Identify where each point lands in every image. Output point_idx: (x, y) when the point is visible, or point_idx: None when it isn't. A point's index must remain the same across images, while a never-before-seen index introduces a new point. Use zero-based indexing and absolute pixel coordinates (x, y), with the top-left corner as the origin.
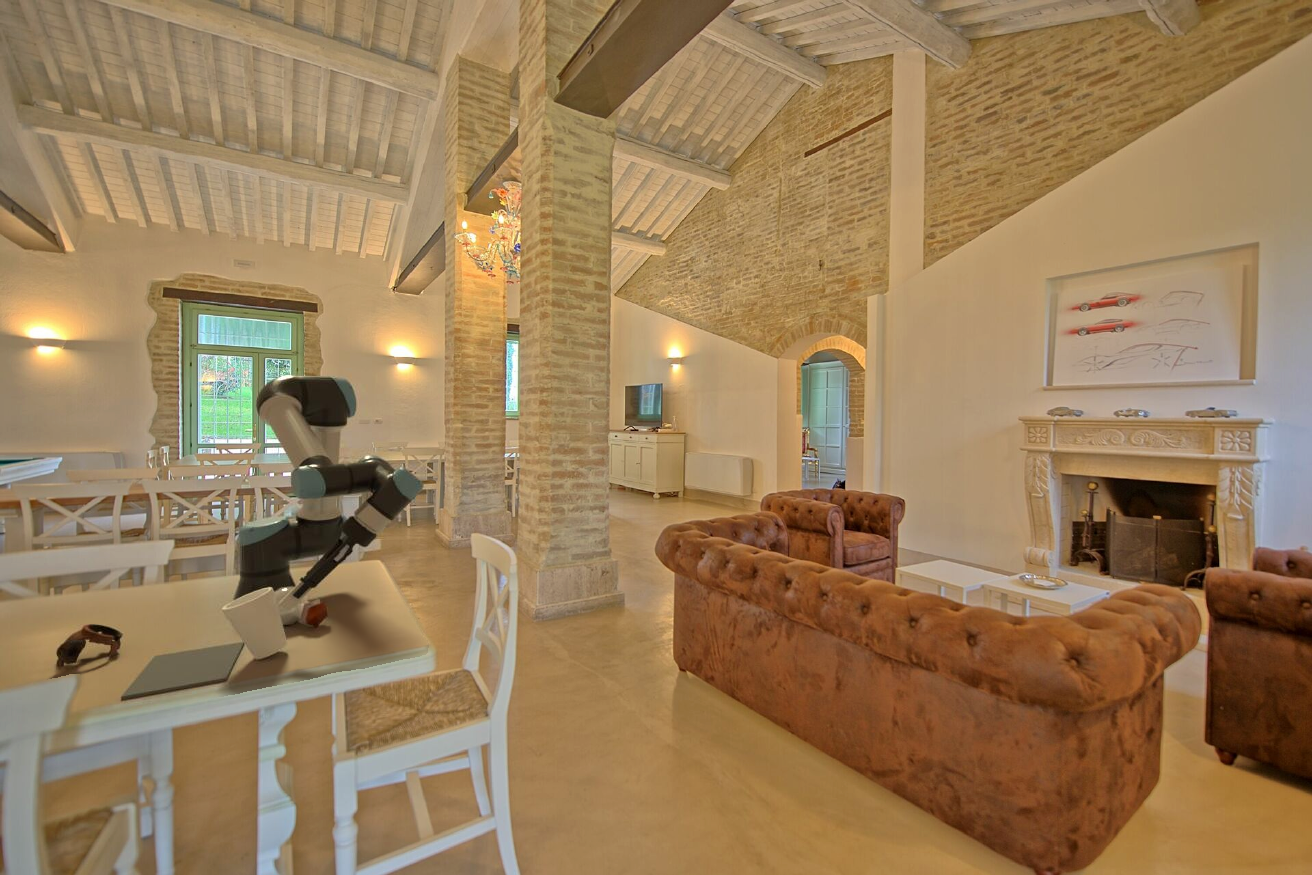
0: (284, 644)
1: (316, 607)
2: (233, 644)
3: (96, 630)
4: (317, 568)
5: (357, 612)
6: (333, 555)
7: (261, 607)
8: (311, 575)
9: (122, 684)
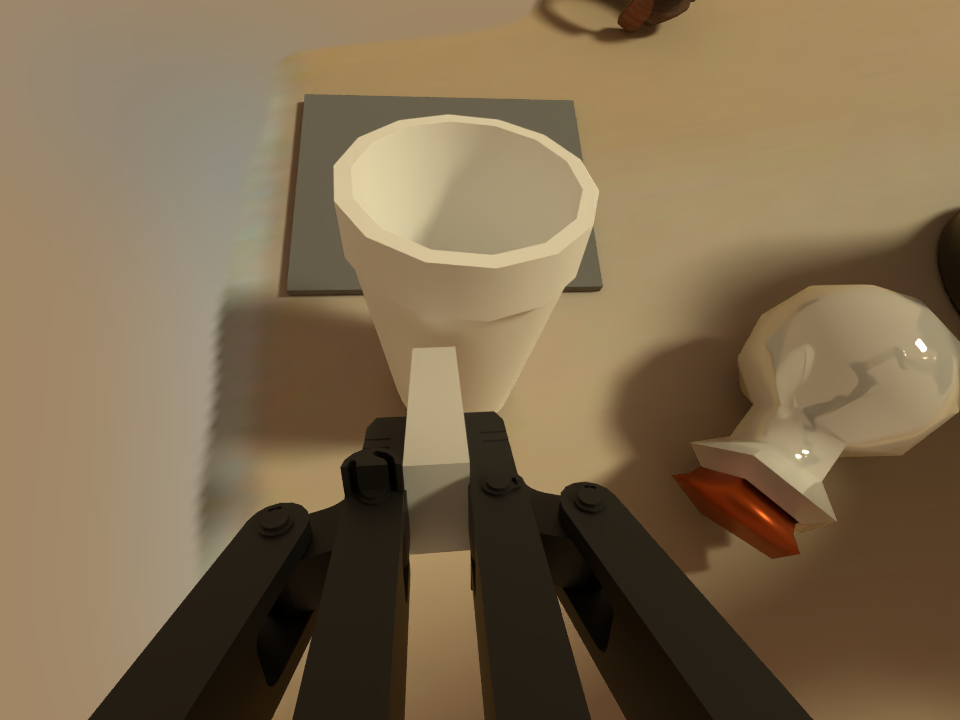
0: None
1: (746, 514)
2: (588, 261)
3: None
4: (199, 698)
5: (868, 686)
6: None
7: (357, 272)
8: (192, 595)
9: (413, 84)
